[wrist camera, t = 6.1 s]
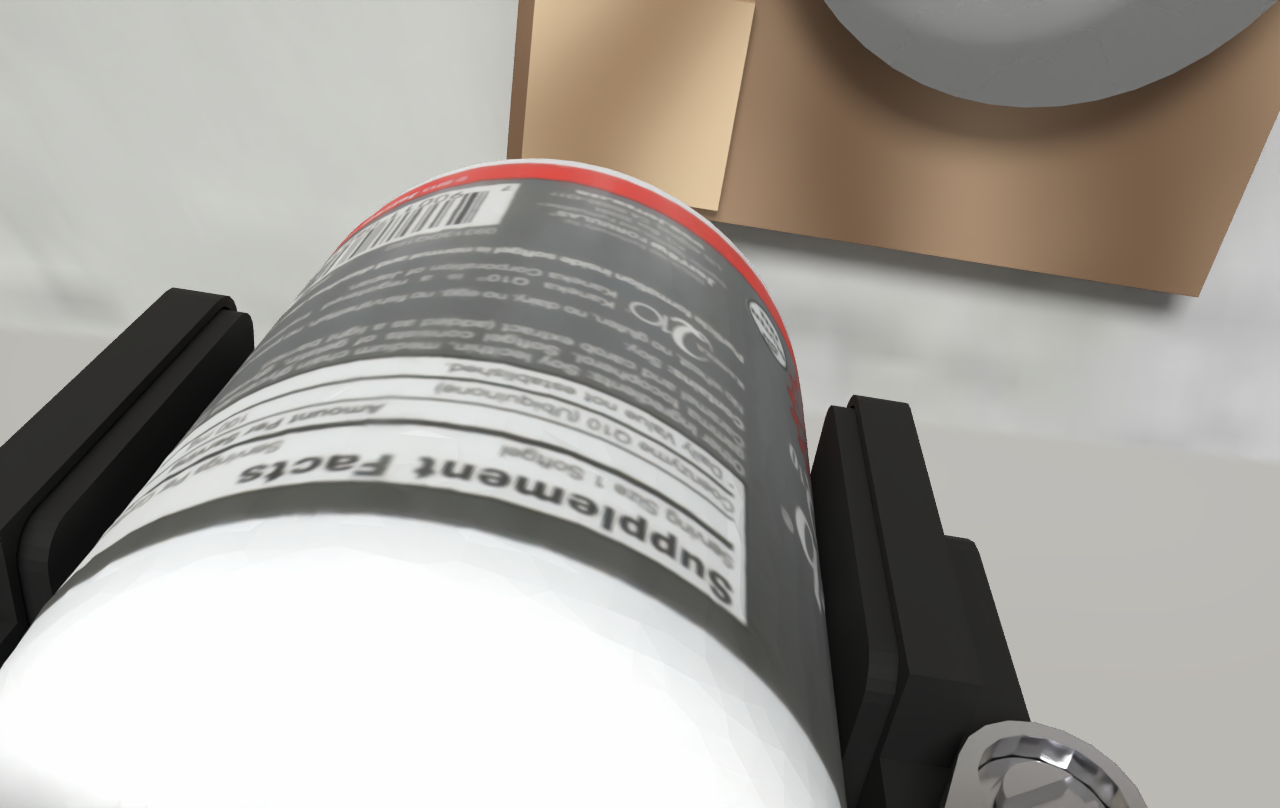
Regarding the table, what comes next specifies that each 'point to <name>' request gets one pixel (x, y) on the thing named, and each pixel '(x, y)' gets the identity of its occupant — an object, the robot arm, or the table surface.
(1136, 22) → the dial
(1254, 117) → the dial board
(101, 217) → the table surface
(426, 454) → the pill bottle
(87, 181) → the table surface
